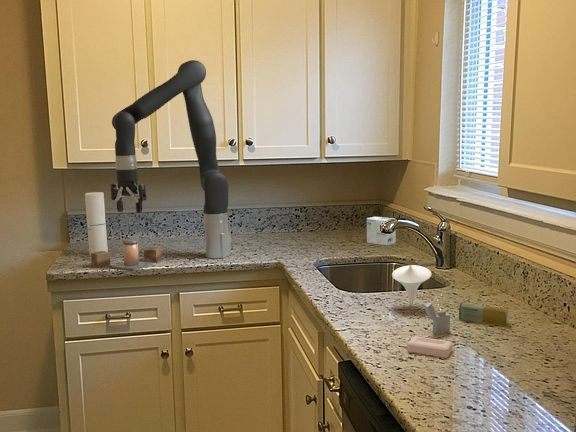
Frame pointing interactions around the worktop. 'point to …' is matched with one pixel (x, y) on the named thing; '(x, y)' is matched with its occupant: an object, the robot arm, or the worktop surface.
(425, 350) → the soap bar
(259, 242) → the worktop surface
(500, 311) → the medication box
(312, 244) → the worktop surface
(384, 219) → the light bulb box
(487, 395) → the worktop surface
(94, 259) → the block
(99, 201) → the cylindrical container
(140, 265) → the coaster
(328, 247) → the worktop surface
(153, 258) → the block
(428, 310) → the lighter
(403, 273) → the white spinning top
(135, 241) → the tan jar
